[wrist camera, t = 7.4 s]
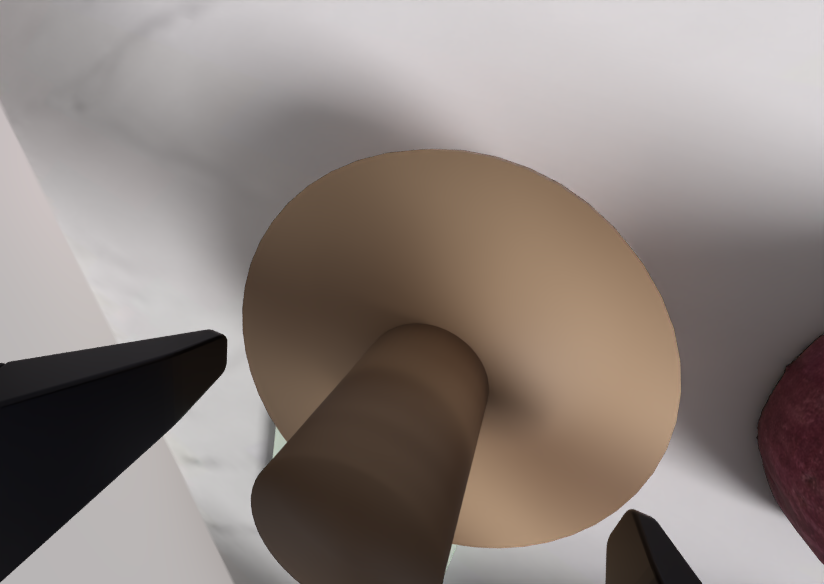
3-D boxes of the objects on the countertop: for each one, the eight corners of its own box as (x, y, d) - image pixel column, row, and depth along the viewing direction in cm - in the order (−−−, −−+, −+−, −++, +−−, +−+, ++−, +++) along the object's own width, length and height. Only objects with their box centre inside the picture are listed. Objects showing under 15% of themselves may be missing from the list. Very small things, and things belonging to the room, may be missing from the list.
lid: (560, 579, 12) (565, 868, 7) (251, 433, 14) (101, 580, 9) (785, 233, 7) (1213, 402, 3) (275, 97, 10) (4, 56, 5)
